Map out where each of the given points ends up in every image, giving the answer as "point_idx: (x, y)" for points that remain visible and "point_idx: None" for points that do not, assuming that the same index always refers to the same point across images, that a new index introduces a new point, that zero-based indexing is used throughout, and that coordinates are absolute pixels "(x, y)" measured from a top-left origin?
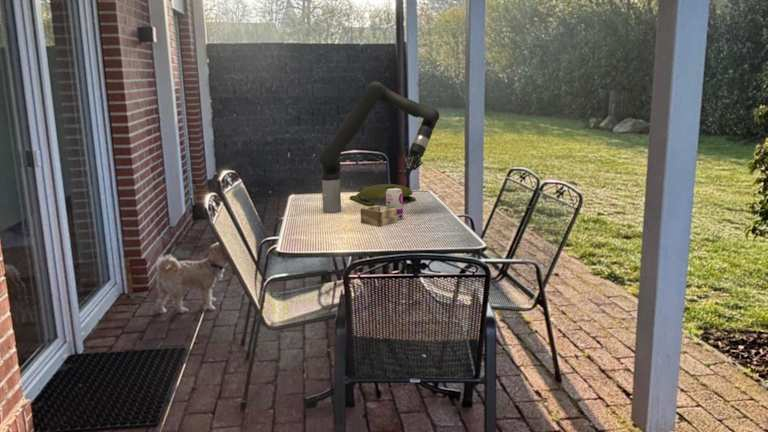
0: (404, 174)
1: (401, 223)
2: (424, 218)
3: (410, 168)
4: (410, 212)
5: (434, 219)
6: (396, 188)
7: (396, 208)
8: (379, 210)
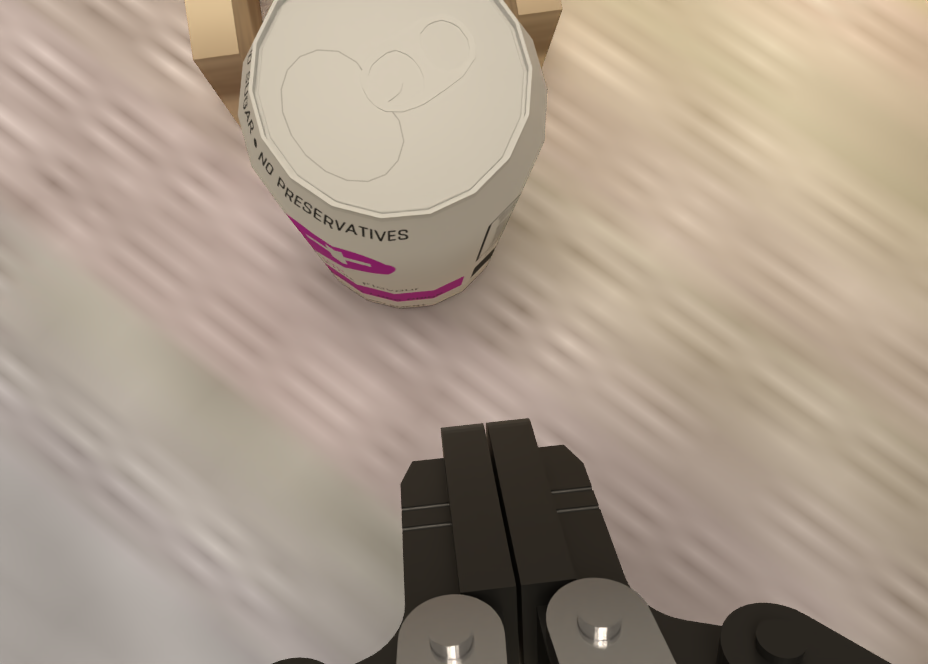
0: (509, 426)
1: (172, 135)
2: (196, 486)
3: (394, 660)
4: None
5: (68, 538)
6: (466, 194)
7: (192, 53)
8: None
